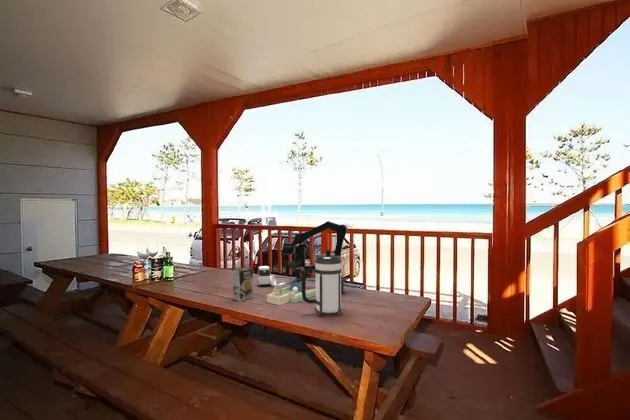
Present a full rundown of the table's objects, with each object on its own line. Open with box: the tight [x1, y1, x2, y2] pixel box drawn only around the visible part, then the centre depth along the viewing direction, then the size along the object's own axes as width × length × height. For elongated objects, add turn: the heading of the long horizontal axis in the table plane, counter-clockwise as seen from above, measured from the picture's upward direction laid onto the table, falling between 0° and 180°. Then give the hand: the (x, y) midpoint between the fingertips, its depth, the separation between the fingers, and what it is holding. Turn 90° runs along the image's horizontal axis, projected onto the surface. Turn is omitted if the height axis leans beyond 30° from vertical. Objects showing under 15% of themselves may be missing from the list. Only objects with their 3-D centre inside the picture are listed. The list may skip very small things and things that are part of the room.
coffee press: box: [301, 249, 345, 318], centre depth 154 cm, size 17×16×30 cm
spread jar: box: [257, 265, 277, 288], centre depth 207 cm, size 12×11×12 cm
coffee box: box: [232, 267, 254, 302], centre depth 178 cm, size 9×6×16 cm
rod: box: [273, 275, 302, 291], centre depth 184 cm, size 8×24×6 cm, turn 143°
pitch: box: [266, 285, 316, 306], centre depth 179 cm, size 16×28×5 cm, turn 143°
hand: (300, 281), depth 193 cm, fingers closed on rod, 3 cm apart
